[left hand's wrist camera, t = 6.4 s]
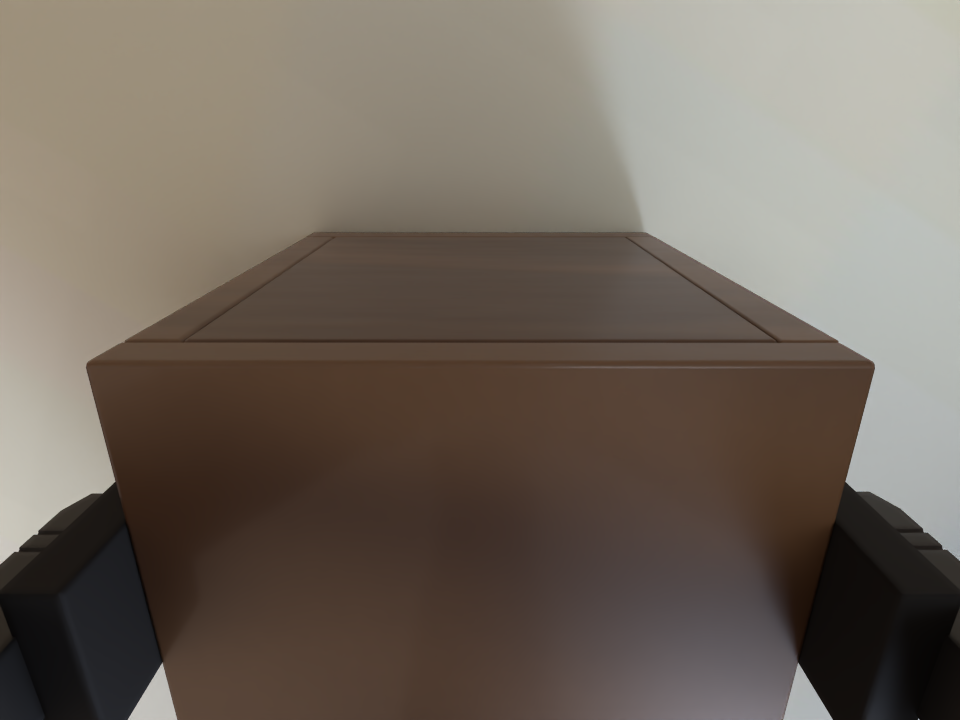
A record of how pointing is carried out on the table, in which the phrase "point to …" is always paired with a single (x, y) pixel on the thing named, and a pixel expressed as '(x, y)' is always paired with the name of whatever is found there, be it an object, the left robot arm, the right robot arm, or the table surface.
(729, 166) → the table surface
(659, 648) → the cabinet
